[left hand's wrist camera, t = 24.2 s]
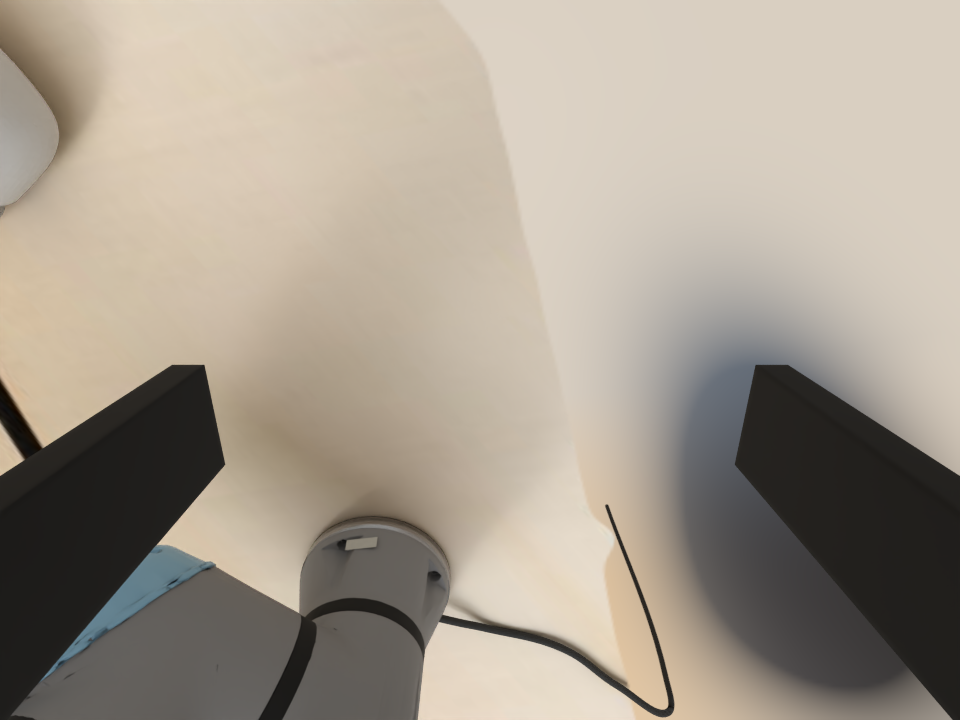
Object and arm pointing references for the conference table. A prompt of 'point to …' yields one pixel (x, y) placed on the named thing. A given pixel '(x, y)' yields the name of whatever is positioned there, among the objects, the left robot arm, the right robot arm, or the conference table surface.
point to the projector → (22, 133)
